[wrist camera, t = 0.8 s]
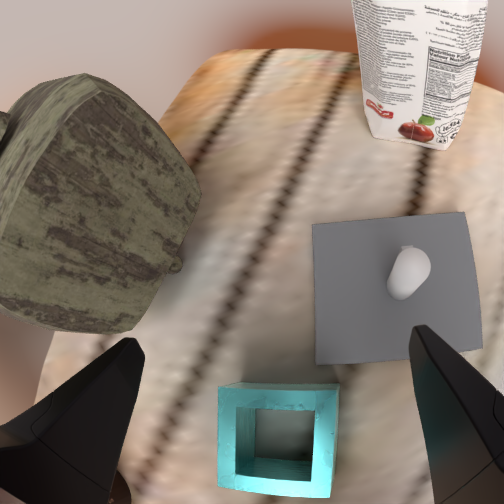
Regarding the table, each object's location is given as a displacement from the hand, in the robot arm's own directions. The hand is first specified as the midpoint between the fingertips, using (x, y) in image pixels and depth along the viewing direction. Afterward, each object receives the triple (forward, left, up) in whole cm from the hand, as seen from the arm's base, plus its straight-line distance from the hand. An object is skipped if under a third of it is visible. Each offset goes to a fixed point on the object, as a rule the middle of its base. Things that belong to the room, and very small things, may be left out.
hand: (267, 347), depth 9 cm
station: (+4, -6, -13) cm, 15 cm away
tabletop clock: (+8, +13, -13) cm, 20 cm away
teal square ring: (-6, +2, -13) cm, 14 cm away
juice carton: (+19, -10, -13) cm, 25 cm away
